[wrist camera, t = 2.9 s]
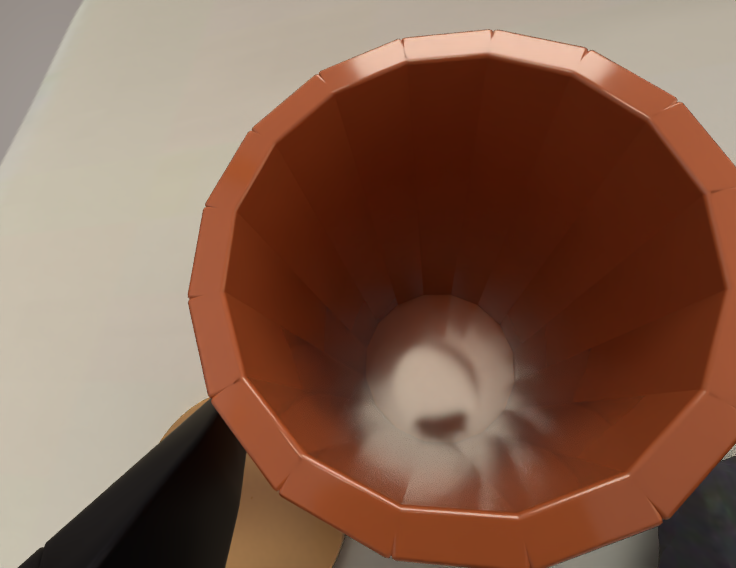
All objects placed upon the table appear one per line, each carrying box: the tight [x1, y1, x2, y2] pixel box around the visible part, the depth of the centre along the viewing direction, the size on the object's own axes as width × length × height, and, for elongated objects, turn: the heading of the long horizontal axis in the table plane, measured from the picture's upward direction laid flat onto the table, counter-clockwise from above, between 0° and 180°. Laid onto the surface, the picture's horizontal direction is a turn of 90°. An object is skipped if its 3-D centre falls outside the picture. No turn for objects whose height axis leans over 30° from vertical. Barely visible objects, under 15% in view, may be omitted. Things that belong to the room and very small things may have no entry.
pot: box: [188, 29, 736, 568], centre depth 11 cm, size 7×7×12 cm
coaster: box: [160, 397, 345, 568], centre depth 16 cm, size 8×8×1 cm
